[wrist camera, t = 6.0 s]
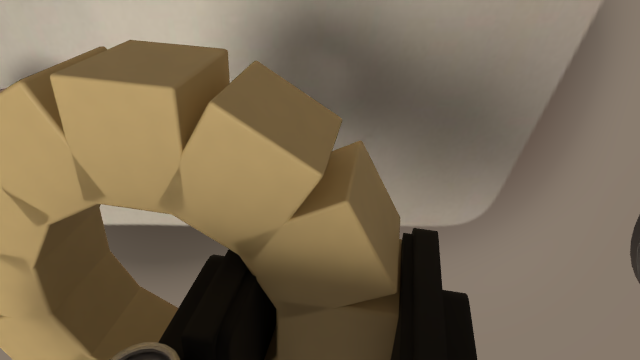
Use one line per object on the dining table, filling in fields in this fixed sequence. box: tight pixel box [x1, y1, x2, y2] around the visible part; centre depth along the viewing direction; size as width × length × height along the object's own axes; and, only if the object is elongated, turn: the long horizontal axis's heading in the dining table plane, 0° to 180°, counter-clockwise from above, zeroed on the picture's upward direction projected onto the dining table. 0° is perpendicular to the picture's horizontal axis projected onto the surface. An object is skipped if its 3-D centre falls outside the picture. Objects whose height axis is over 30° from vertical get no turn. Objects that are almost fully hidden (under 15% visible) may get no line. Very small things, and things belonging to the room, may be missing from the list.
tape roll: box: [0, 40, 402, 360], centre depth 11 cm, size 10×10×2 cm
